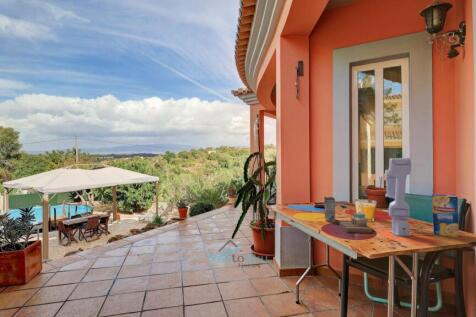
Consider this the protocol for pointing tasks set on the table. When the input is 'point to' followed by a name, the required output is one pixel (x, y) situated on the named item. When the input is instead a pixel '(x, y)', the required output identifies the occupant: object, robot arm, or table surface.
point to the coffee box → (329, 208)
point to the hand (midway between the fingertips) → (392, 209)
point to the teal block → (359, 215)
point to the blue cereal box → (445, 215)
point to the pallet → (359, 221)
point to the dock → (354, 227)
